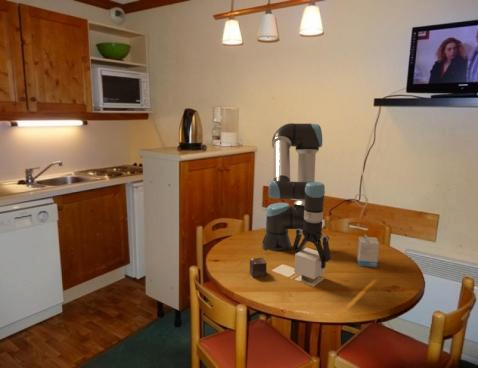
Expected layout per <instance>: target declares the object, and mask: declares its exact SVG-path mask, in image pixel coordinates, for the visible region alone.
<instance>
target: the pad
mask: <svg viewBox="0 0 478 368" xmlns="http://www.w3.org/2000/svg"><path fill="white" fill-rule="evenodd" d="M294 268H295V267H292V266H289V265H286V264H280V265H279V266H277V267H274V268H273V269H272V270H271V272H273V273H277V274H279V275H282V276H284V277H287V278H289V277H290V278H291V276H293V275H295V274H297V273H296V272H294Z"/></svg>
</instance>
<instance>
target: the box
mask: <svg viewBox="0 0 478 368" xmlns="http://www.w3.org/2000/svg"><path fill="white" fill-rule="evenodd" d="M249 274H250V276H251V277H252V278H254V279H255V278H257V279H258V278H264V277H266V278H267V262H266V261H265V259H264V258H263V257H256V258H254V257H253V258H249Z"/></svg>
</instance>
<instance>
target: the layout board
mask: <svg viewBox="0 0 478 368" xmlns="http://www.w3.org/2000/svg"><path fill="white" fill-rule="evenodd" d="M297 276H298V277H297ZM294 278H295V279H294ZM289 279H290V280H293V279H294V280H295V281H298V282H301V283H303V284H306V285H309V286H312V287H315V286H317V285H318V284H319V283H321V282H322V281H324V280H325V278H323V277H321V276H318V279H317V280H315V281H314V282H313V283H310V282H308V281H305V280H302V279H301V274H298V273H295V274H294V276H293V275H292V277H290V278H289Z"/></svg>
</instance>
